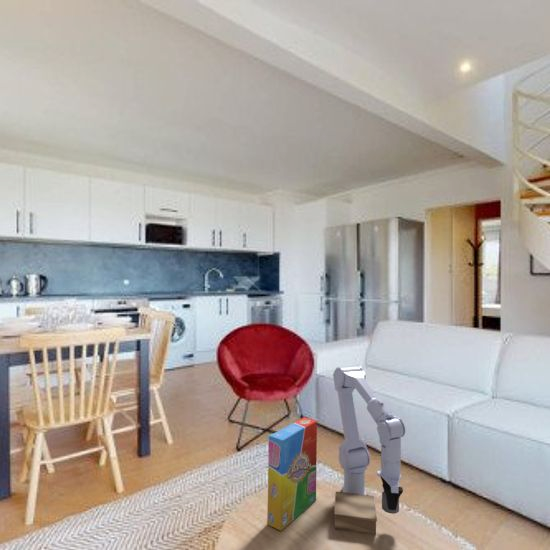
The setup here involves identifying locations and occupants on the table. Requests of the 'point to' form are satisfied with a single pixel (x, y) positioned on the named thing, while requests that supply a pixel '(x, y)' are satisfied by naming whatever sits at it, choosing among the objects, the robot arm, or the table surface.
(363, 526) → the box
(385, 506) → the grey short cylinder
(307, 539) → the table surface
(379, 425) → the robot arm
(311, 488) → the game box
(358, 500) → the lid
